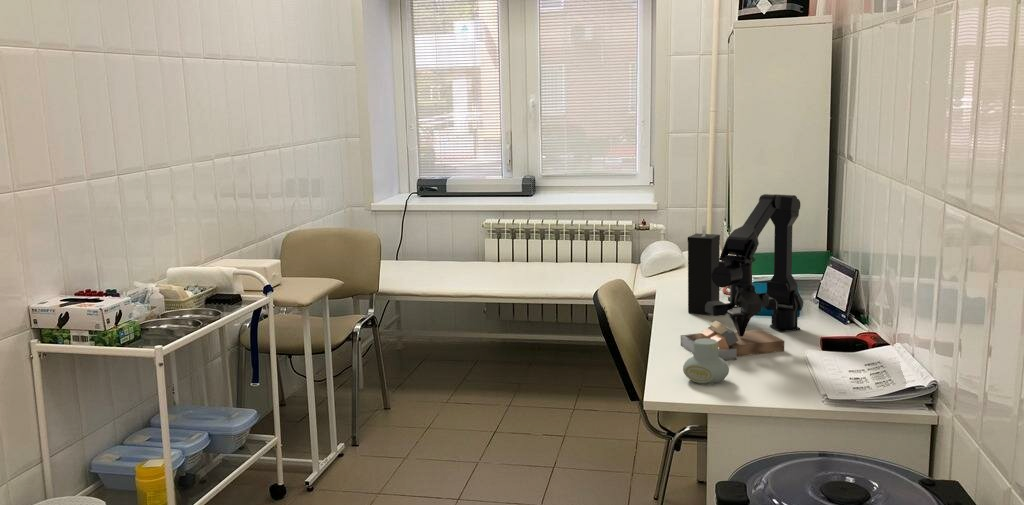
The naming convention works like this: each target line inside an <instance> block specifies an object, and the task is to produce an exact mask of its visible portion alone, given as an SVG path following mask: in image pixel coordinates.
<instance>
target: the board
mask: <svg viewBox="0 0 1024 505" xmlns="http://www.w3.org/2000/svg"><path fill="white" fill-rule="evenodd" d="M734 332H735V334H736V336H737V338H738V340H739V341H737V342H735V343H734V344H732V345H731V346H729V349H731V348H736V349H737V357H744V356H754V355H763V354H772V352H773V353H782V352H785V339H782V338H780V337H779V336H777V335H774V334H772V333H770V332H768V331H766V330H764V329H761V328H760V329H753V330H745V333H744V335H743V336H741V337H740V336H739V335H738V333H737V331H734Z"/></svg>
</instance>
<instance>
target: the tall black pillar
mask: <svg viewBox="0 0 1024 505" xmlns="http://www.w3.org/2000/svg"><path fill="white" fill-rule="evenodd" d="M701 230H702V233H698V232H697V233H694V234H692V235H689V236H688V237H687V303H688V304H687V313H688V314H694V315H695V314H697V315H704V316H705V315H706V316H712V315H711V314H709V313H707V312H705V305H706V303H707V302H709V301H720V288H719V287H718V286H717V285H715V283H714V282H713V280H712V272H713V270H714V269H715V268H716V267H718V262H719V261H721V260H720V256H721V253H720V250H721V249H720V242H721V241H720V240H721V234H714V233H706V232H707V226H706V225H701Z"/></svg>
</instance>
